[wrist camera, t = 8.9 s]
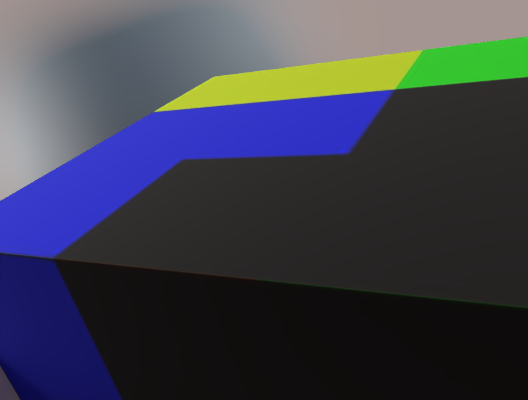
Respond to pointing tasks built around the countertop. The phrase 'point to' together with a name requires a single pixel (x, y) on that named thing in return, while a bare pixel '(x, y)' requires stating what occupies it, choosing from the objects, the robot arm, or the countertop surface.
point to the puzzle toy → (286, 241)
